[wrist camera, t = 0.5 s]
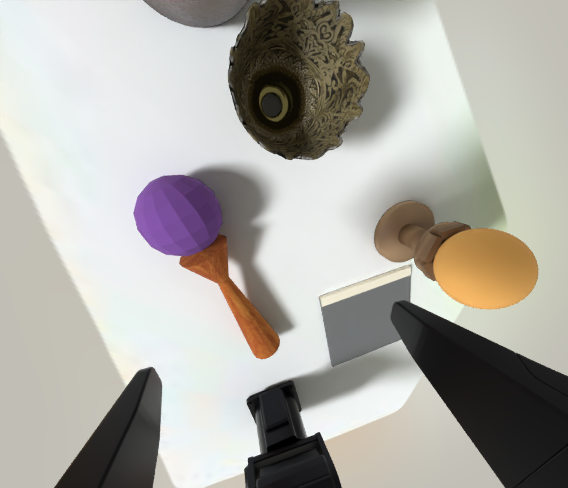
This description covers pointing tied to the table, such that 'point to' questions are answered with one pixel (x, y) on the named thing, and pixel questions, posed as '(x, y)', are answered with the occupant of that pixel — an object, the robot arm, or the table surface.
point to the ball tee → (413, 235)
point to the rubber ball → (485, 268)
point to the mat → (363, 314)
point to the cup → (297, 76)
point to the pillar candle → (198, 11)
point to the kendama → (199, 246)
